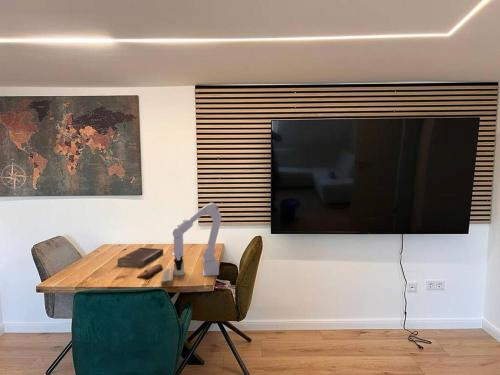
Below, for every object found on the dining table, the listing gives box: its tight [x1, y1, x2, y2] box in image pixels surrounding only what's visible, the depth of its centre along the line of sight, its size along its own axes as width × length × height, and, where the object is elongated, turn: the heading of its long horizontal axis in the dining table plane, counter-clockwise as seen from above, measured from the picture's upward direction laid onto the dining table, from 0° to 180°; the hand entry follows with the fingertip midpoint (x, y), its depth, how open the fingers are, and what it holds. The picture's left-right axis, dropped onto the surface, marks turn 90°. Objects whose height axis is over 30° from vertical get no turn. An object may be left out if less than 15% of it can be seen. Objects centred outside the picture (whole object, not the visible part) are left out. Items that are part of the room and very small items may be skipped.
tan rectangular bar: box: [160, 268, 174, 287], centre depth 181 cm, size 6×20×3 cm, turn 12°
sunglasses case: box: [136, 263, 163, 280], centre depth 190 cm, size 18×7×7 cm, turn 168°
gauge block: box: [173, 260, 185, 276], centre depth 189 cm, size 6×5×7 cm
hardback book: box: [117, 247, 164, 268], centre depth 217 cm, size 29×19×5 cm, turn 170°
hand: (178, 268), depth 189 cm, fingers open, 7 cm apart
